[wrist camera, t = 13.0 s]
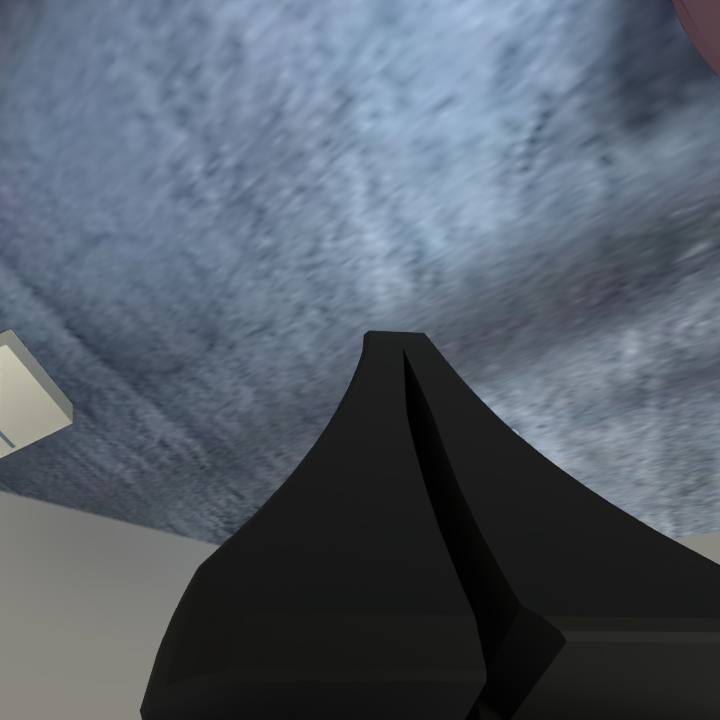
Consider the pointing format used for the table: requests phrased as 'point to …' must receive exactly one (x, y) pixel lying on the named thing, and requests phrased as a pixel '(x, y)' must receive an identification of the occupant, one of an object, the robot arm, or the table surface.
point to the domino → (27, 398)
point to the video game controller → (702, 27)
